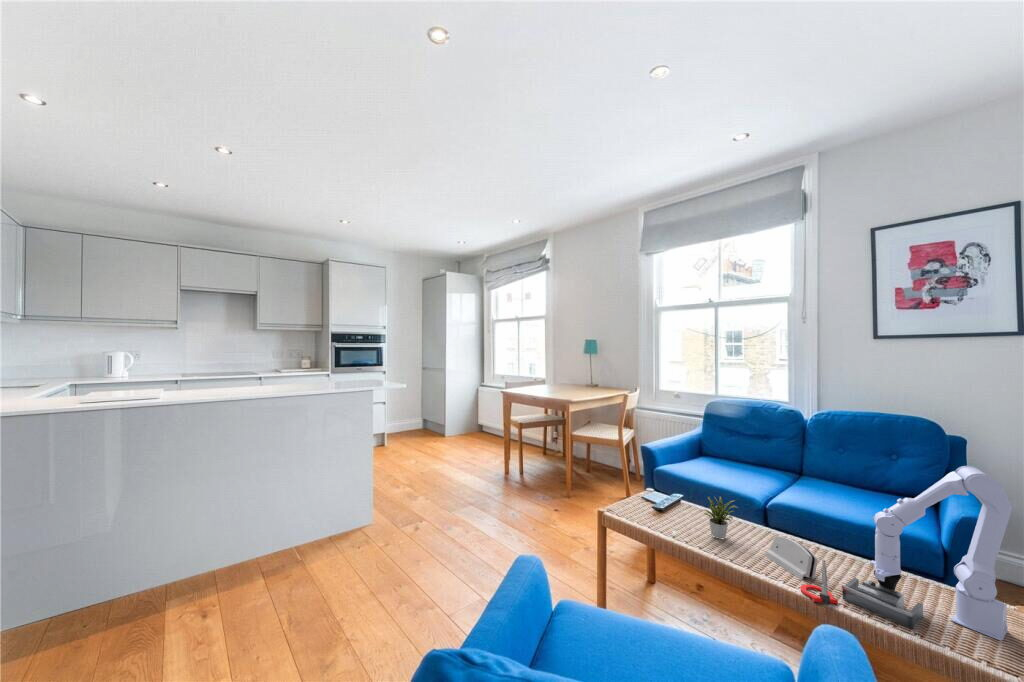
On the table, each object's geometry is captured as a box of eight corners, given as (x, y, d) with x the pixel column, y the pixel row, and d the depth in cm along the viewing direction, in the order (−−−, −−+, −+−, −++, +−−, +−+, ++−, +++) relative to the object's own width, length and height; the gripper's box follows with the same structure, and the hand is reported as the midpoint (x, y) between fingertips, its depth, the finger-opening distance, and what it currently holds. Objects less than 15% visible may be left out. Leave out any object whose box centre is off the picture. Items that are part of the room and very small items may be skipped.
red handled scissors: (795, 586, 134) (811, 603, 125) (794, 546, 135) (810, 560, 125) (823, 589, 133) (841, 606, 123) (822, 549, 133) (840, 562, 124)
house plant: (747, 538, 166) (747, 498, 166) (733, 549, 157) (733, 507, 157) (711, 526, 177) (711, 488, 177) (697, 535, 168) (697, 496, 168)
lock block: (904, 611, 121) (904, 592, 121) (896, 619, 118) (896, 600, 118) (866, 595, 129) (865, 577, 129) (857, 602, 125) (857, 584, 125)
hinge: (764, 555, 153) (772, 529, 154) (774, 558, 154) (782, 532, 154) (802, 580, 137) (810, 551, 137) (813, 584, 137) (822, 555, 138)
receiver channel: (923, 616, 119) (922, 601, 119) (911, 629, 113) (911, 614, 113) (854, 588, 132) (854, 575, 132) (841, 599, 127) (841, 585, 127)
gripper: (878, 541, 133) (879, 582, 133) (862, 553, 125) (862, 597, 125) (908, 550, 127) (908, 593, 127) (892, 563, 119) (892, 610, 119)
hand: (887, 596), depth 126 cm, fingers closed
